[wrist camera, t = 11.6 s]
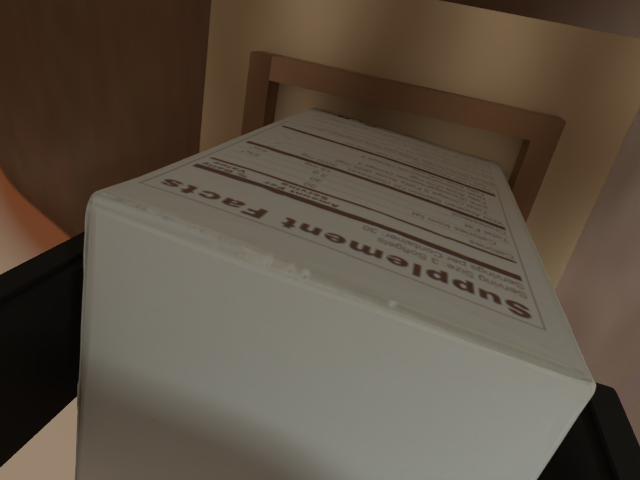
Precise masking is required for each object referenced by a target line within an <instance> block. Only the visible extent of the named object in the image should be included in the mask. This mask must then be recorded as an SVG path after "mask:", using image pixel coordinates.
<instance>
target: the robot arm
mask: <svg viewBox="0 0 640 480" xmlns="http://www.w3.org/2000/svg"><path fill="white" fill-rule="evenodd" d="M84 236H85V232H83V233H81V234H79V235H77V236H75V237H73V238H71V239H69V240H67V241H65V242H63V243H61V244H60V245H57V246H56V247H53V248H52V249H50V250H48V251H46V252H44V253H42V254H40V255H38V256H36V257H34V258H32V259H30V260H28V261H26V262H24V263H22V264H20V265H18V266H17V267H15V268H13V269H11V270H9V271H7V272H5V273H3V274H1V275H0V467H1V466H2V465H3V464H4V463H6V462H7V461H8V460H9V459H10V458H11V457H12V456H13V455H14V454H15V453H16V452H17V451H18V450H20V448H22V447H23V446H24V445H25V444H26V443H27V442H28V441H29V440H30V439H31V438H32V437H33V436H34V435H36V434H37V433H38V432H39V431H40V430H41V429H42V428H43V427H44V426H45V425H46V424H48V423H49V422H50V421H51V420H52V419H53V418H54V417H55V416H56V415H57V414H58V413H59V412H60V411H61V410H62V409H64V408H65V407H66V406H67V405H68V404H69V403H70V402H71V401H72V400H73V399H74V398H76V397H77V385H78V381H79V367H80V344H81V317H82V296H83V279H84V257H83V253H84ZM595 383H596V382H595ZM537 480H640V446H639V444H638V441H637V439H636V437H635V434H634V432H633V430H632V427H631V425H630V423H629V420H628V418H627V416H626V413H625V411H624V409H623V406H622V404H621V402H620V399H619V397H618V395H617V393H616V391H615V390H614V389H613V388H611V387H609V386H605V385H602V384H599V383H596V389H595V392H594V395H593V396H592V397H591V399H590V400H589V402H588V403H587V404H586V406H585V407H584V409H583V410H582V412H581V413H580V414H579V416H578V418H577V419H576V421H575V422H574V424H573V425H572V427H571V428H570V430H569V431H568V433H567V434H566V436H565V438H564V439H563V441H562V442H561V444H560V445H559V447H558V448H557V450H556V451H555V453H554V454H553V456H552V457H551V459H550V460H549V462H548V463H547V465H546V466H545V468H544V470H543V471H542V473H541V474H540V476H539V477H538V479H537Z"/></svg>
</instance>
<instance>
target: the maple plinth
mask: <svg viewBox="0 0 640 480" xmlns="http://www.w3.org/2000/svg"><path fill="white" fill-rule="evenodd" d="M639 107H640V39H639V38H634V37H629V36H624V35H618V34H613V33H608V32H603V31H598V30H592V29H587V28H582V27H577V26H571V25H566V24H561V23H556V22H551V21H545V20H540V19H535V18H530V17H524V16H519V15H514V14H509V13H504V12H498V11H493V10H488V9H483V8H477V7H472V6H467V5H462V4H456V3H451V2H446V1H441V0H211V12H210V25H209V37H208V49H207V62H206V74H205V87H204V99H203V111H202V124H201V136H200V149H199V153H200V152H203V151H205V150H208V149H210V148H213V147H215V146H218V145H220V144H222V143H225V142H227V141H230V140H232V139H234V138H237V137H240V136H242V135H244V134H247V133H249V132H252V131H254V130H257V129H259V128H262V127H264V126H267V125H269V124H272V123H274V122H277V121H279V120H282V119H284V118H287V117H289V116H291V115H295V114H298V113H300V112H303V111H306V110H308V109H311V108H318V109H322V110H325V111H328V112H332V113H335V114H338V115H342V116H345V117H348V118H351V119H355V120H358V121H361V122H365V123H368V124H371V125H374V126H378V127H381V128H384V129H387V130H391V131H394V132H397V133H400V134H404V135H407V136H410V137H414V138H417V139H420V140H423V141H427V142H430V143H433V144H436V145H440V146H443V147H446V148H450V149H453V150H456V151H460V152H463V153H466V154H470V155H473V156H476V157H480V158H483V159H486V160H490V161H494V162H497V163H499V164H500V166H501V168H502V171H503V173H504V175H505V177H506V179H507V181H508V184H509V186H510V189H511V191H512V193H513V195H514V197H515V200H516V203H517V205H518V207H519V209H520V211H521V214H522V216H523V218H524V221H525V223H526V225H527V228H528V230H529V232H530V235H531V237H532V239H533V241H534V243H535V246H536V248H537V251H538V253H539V255H540V258H541V260H542V262H543V264H544V267H545V269H546V271H547V274H548V276H549V279H550V281H551V284H552V286H553V288H554V291H555V290H556V288H557V286H558V283H559V281H560V279H561V277H562V275H563V272H564V270H565V268H566V266H567V264H568V262H569V259H570V257H571V255H572V253H573V251H574V248H575V246H576V244H577V242H578V240H579V238H580V235H581V233H582V231H583V229H584V227H585V224H586V222H587V220H588V218H589V216H590V214H591V211H592V209H593V207H594V205H595V203H596V200H597V198H598V196H599V194H600V192H601V190H602V187H603V185H604V183H605V181H606V179H607V176H608V174H609V172H610V170H611V168H612V166H613V163H614V161H615V159H616V157H617V155H618V152H619V150H620V148H621V146H622V144H623V142H624V139H625V137H626V135H627V133H628V131H629V128H630V126H631V124H632V122H633V120H634V118H635V115H636V113H637V111H638V109H639Z"/></svg>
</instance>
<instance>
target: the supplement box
mask: <svg viewBox="0 0 640 480" xmlns="http://www.w3.org/2000/svg"><path fill="white" fill-rule="evenodd" d="M83 257H84V279H83V296H82V317H81V344H80V367H79V381H78V385H77V409H78V416H77V445H76V467H75V480H537V479H538V477H539V476H540V474H541V473H542V471H543V470H544V468H545V466H546V465H547V463H548V462H549V460H550V459H551V457H552V456H553V454H554V453H555V451H556V450H557V448H558V447H559V445H560V444H561V442H562V441H563V439H564V438H565V436H566V434H567V433H568V431H569V430H570V428H571V427H572V425H573V424H574V422H575V421H576V419H577V418H578V416H579V414H580V413H581V412H582V410H583V409H584V407H585V406H586V404H587V403H588V402H589V400H590V399H591V397H592V396H593V395H594V392H595V389H596V383H595V381H594V379H593V377H592V375H591V374H590V371H589V369H588V367H587V365H586V362H585V360H584V358H583V355H582V353H581V351H580V349H579V346H578V344H577V342H576V339H575V337H574V335H573V332H572V330H571V327H570V325H569V322H568V320H567V317H566V315H565V313H564V311H563V309H562V306H561V304H560V302H559V300H558V297H557V295H556V293H555V291H554V288H553V286H552V284H551V281H550V279H549V276H548V274H547V271H546V269H545V267H544V264H543V262H542V260H541V258H540V255H539V253H538V251H537V248H536V246H535V243H534V241H533V239H532V237H531V235H530V232H529V230H528V228H527V225H526V223H525V221H524V218H523V216H522V214H521V211H520V209H519V207H518V205H517V203H516V200H515V197H514V195H513V193H512V191H511V189H510V186H509V184H508V181H507V179H506V177H505V175H504V173H503V171H502V168H501V166H500V164H499V163H497V162H494V161H490V160H486V159H483V158H480V157H476V156H473V155H470V154H466V153H463V152H460V151H456V150H453V149H450V148H446V147H443V146H440V145H436V144H433V143H430V142H427V141H423V140H420V139H417V138H414V137H410V136H407V135H404V134H400V133H397V132H394V131H391V130H387V129H384V128H381V127H378V126H374V125H371V124H368V123H365V122H361V121H358V120H355V119H351V118H348V117H345V116H342V115H338V114H335V113H332V112H328V111H325V110H322V109H318V108H311V109H308V110H306V111H303V112H300V113H298V114H295V115H291V116H289V117H287V118H284V119H282V120H279V121H277V122H274V123H272V124H269V125H267V126H264V127H262V128H259V129H257V130H254V131H252V132H249V133H247V134H244V135H242V136H240V137H237V138H234V139H232V140H230V141H227V142H225V143H222V144H220V145H218V146H215V147H213V148H210V149H208V150H205V151H203V152H200V153H198V154H195V155H193V156H190V157H188V158H185V159H183V160H180V161H178V162H175V163H173V164H170V165H168V166H165V167H163V168H160V169H158V170H155V171H153V172H150V173H147V174H145V175H142V176H140V177H137V178H134V179H131V180H128V181H125V182H122V183H119V184H116V185H113V186H110V187H107V188H104V189H101V190H98V191H96V192H94V193H93V194H92V195H91V196H90V199H89V202H88V204H87V207H86V214H85V236H84V253H83Z"/></svg>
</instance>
